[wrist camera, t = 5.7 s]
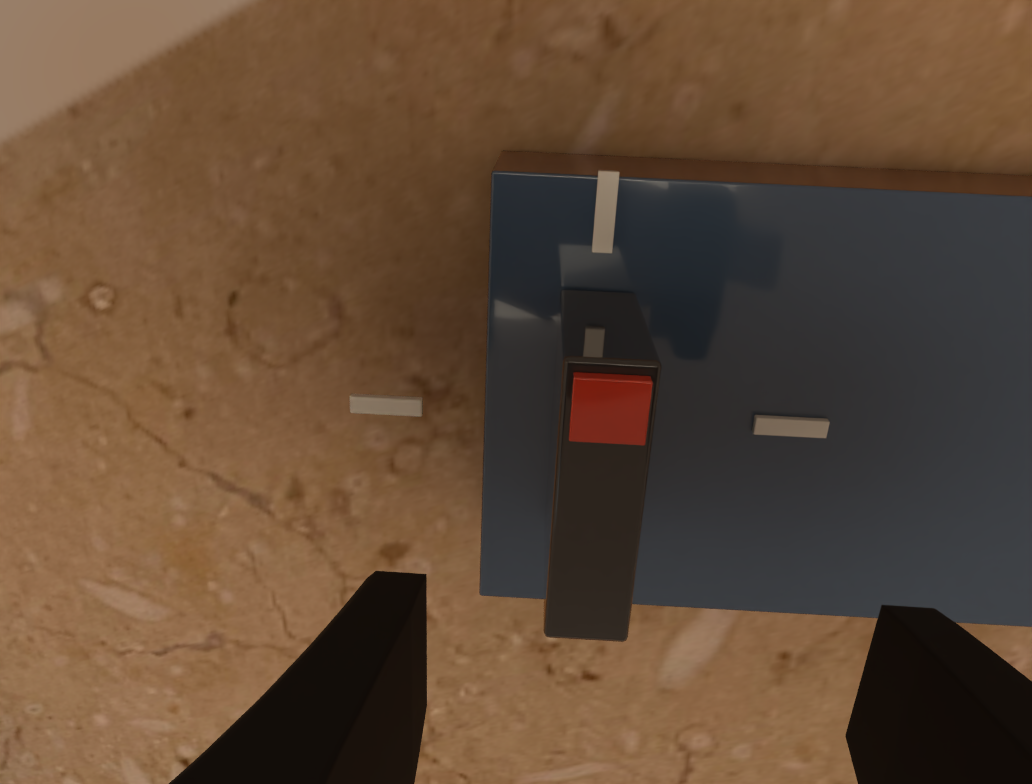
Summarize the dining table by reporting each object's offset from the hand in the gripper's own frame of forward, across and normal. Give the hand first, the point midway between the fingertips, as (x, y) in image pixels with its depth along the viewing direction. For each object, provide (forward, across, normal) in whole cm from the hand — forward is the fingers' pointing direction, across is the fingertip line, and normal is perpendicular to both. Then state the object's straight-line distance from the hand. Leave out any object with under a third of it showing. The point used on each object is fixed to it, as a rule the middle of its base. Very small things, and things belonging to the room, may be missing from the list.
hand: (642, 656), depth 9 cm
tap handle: (+6, 0, 0) cm, 6 cm away
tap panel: (+9, -3, 0) cm, 10 cm away
